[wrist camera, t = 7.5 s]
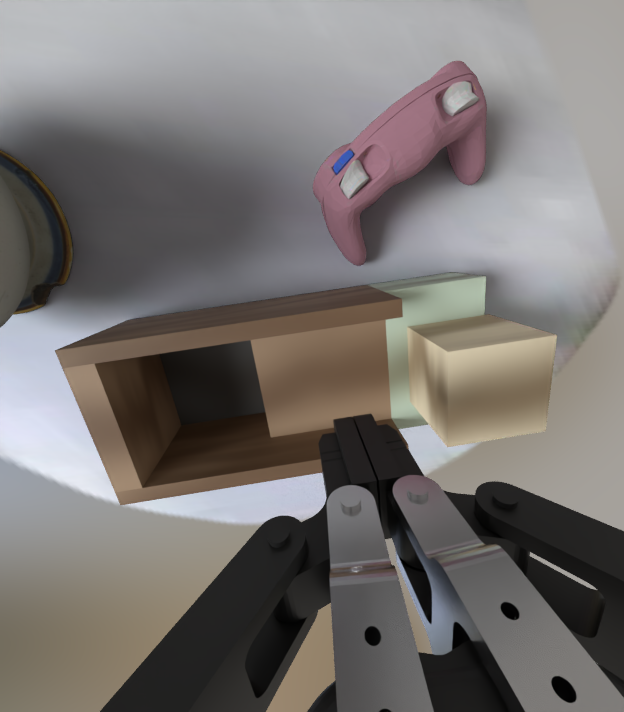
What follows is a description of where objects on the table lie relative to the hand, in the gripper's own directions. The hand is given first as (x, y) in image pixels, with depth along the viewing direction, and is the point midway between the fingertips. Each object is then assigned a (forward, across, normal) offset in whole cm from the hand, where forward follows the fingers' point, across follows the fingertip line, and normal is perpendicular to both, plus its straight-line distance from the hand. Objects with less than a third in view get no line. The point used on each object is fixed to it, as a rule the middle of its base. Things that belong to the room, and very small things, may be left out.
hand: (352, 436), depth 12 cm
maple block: (+7, -8, +1) cm, 10 cm away
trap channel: (+11, +2, +1) cm, 11 cm away
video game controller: (+12, -6, -10) cm, 16 cm away
